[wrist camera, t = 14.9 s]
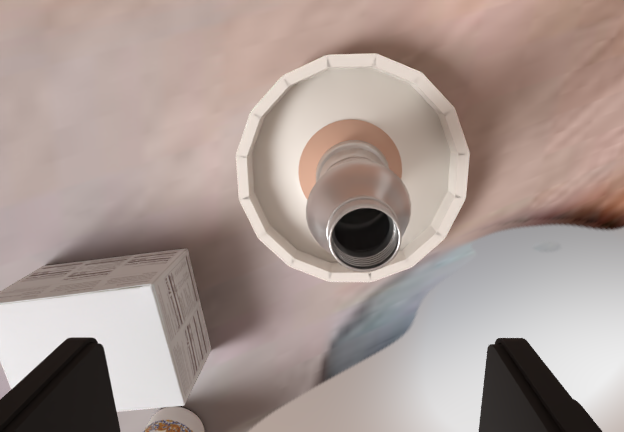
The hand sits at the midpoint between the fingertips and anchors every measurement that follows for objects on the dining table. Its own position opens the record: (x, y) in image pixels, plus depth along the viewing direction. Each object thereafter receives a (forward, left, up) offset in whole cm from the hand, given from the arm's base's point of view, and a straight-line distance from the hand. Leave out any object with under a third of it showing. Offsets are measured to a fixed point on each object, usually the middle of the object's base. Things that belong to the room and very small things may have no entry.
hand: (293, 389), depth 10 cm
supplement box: (+16, -22, -33) cm, 43 cm away
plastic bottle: (0, +2, -31) cm, 31 cm away
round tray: (0, +2, -32) cm, 32 cm away
